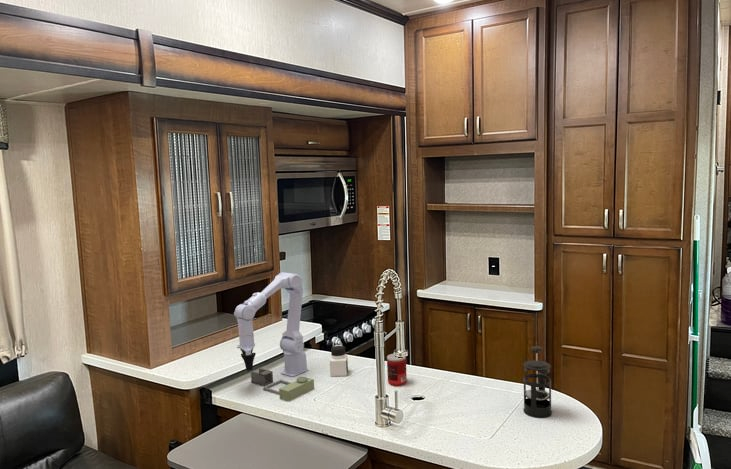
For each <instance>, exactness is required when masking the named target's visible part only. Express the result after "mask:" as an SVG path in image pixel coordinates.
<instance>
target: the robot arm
mask: <svg viewBox="0 0 731 469" xmlns="http://www.w3.org/2000/svg"><path fill="white" fill-rule="evenodd" d="M280 289H284V290H286V292H287V293H288V294H289V299H288V301H289V302H288V311H287V322H286V329H285V331H283V333H282V336H281V339H280V341H279V348H280V350H282V352H283V361H284V363H283V364H284V370H283V371H280V374H282V375H284V376H285V375H286V376H289V377H292V378H294V377H297V376H298V375H301V374H303V373H306V372H307V371H309V369H308V364H307V363H308V361H307V354H306V352H305V351H304V348H305V343H304V336H303V334H302V333H301V332H300V324H301V316H302V305H303V304H302V303H303V297H304V296H303V295H304V288H303V278H302V276H300V274H298V273H291V272H284V271H281V272H279V273H278V274H277V275H275V277H274V279H273V280H272V282H270V283H269V284H268V285H267V286H266V287H265V288H263V290H262V291H261V292H258V291H257V292H254V293H252V296H251V297H249V298H248V299H247V300H244V302H243V303H240V304H239V305H237V306H236V307H235V310H234V312H233V315H234V317H235V318H236V321H237V327H238V339H239V344H237V345H236V348H237V349H239V350H240V351H241V353H240V357H241V358H242V360H243V362H244V366H245V369H246V371H253V368H254V360H255V357H256V352H253V351H254V348H255V346H256V343H255V337H254V336H255V335H254V325H253V324H254V323H253V319H254V317H255V315H256V313H257V311H258V310H260V308H262V307H263V306H265V304H266V303H267V299H268V298H269V297H271V296H272V295H273V294H275V293H276V292H277V291H279V290H280Z"/></svg>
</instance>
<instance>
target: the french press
mask: <svg viewBox="0 0 731 469" xmlns="http://www.w3.org/2000/svg"><path fill="white" fill-rule="evenodd" d="M530 350H532V351H535V356H536V357H535V358H536V360H532V359H531V360H526V361H524V362H523V364H522V365H523V367H524V372H525V373H526V372H529V371H531V370H532V371H536V373H528V374H526V375H524V376H523V413H524V414H525V415H527V416H528V417H531V418H537V419H545V418H549V417H551V416H552V414H553V411H552V379H551V377H550V376H548V374H550V369H551V368H552V365H551V364H550V363H549V362H547V361H543V360H538V354H539V351H540V352H541V351H543V350H544V348H543V347H541V346H538V345H536V346H531V347H530ZM531 378H536V382H530V381H528V379H531ZM546 381H548V382H546ZM527 386H528V387H530V389H527V388H526V387H527ZM546 387H547V388H549V389H548V391H549V392H548V391H547V390H546Z"/></svg>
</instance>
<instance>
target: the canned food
mask: <svg viewBox="0 0 731 469" xmlns="http://www.w3.org/2000/svg"><path fill="white" fill-rule="evenodd" d="M386 368H387V370H386V371H387V382H388V385H390V386H391V387H392V386H393V387H402V386H404V385H406V384H407V381H408V380H407V378H408V377H407V356H406V357H403V358H398V357H395V356H394V353H391V354H388V355H387V356H386Z"/></svg>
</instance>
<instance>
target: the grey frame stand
mask: <svg viewBox="0 0 731 469" xmlns="http://www.w3.org/2000/svg"><path fill="white" fill-rule="evenodd" d="M279 384H283V385H284V386H282V387H279V388H278V390H277V389H273V387H275V386H277V385H279ZM262 388H263V389H262V390H263V391H266V392H269V393H272V394H275V395H279V399H280V400H283V401H286V402H290V401H292V400H294V399H296V398H298V397H301V396H302V395H304V394H305V395H306V394H307V393H308V392H311V391H313V390H315V379H313V378H312V377H311V378H310V377H307V376H300V377H297V378H296V380H294V381H292V382H291V381H287V380H284V379H279V380H277V381H273V383H271V384H269V385H267V386H265V387H263V386H262Z"/></svg>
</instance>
